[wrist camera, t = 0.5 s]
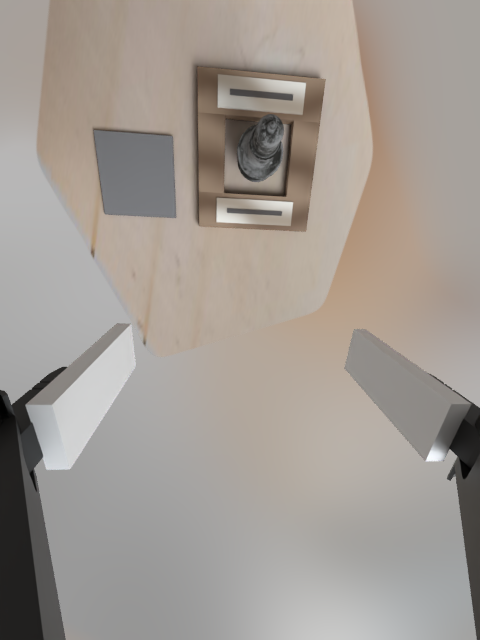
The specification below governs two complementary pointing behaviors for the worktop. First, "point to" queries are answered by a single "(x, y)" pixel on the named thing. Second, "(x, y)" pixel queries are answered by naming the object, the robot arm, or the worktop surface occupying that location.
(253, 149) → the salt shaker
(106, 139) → the rubber mat
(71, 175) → the worktop surface
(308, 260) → the worktop surface
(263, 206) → the label board
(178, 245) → the worktop surface
